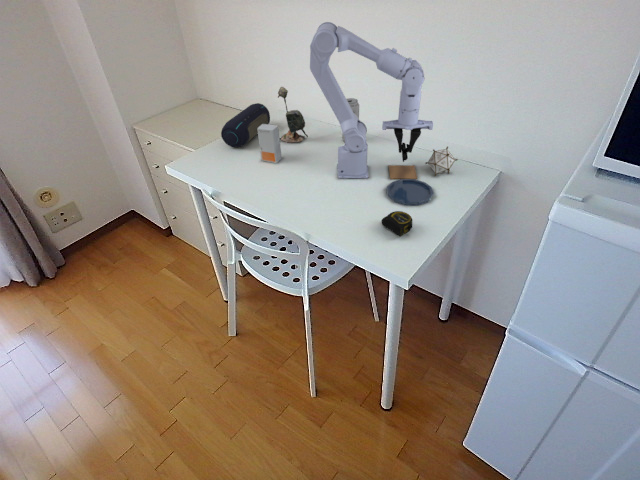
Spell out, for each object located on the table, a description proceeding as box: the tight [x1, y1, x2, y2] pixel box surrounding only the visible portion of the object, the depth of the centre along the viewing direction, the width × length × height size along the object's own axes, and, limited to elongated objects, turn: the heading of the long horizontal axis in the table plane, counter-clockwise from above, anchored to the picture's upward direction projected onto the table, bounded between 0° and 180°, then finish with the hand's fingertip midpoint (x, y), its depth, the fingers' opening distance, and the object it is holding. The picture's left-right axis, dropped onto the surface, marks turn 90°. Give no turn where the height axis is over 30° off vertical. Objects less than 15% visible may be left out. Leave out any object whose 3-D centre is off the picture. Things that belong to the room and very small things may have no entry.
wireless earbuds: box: [401, 142, 410, 163], centre depth 122 cm, size 7×2×5 cm, turn 174°
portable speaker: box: [220, 102, 271, 148], centre depth 152 cm, size 25×10×10 cm, turn 159°
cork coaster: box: [388, 164, 418, 180], centre depth 128 cm, size 8×8×1 cm
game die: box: [424, 146, 459, 177], centre depth 125 cm, size 9×8×10 cm
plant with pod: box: [277, 86, 309, 143], centre depth 145 cm, size 8×11×20 cm
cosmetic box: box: [257, 123, 282, 164], centre depth 135 cm, size 6×4×12 cm
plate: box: [386, 179, 434, 207], centre depth 118 cm, size 13×13×1 cm
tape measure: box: [381, 210, 413, 238], centre depth 104 cm, size 7×7×4 cm
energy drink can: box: [341, 97, 360, 143], centre depth 144 cm, size 6×6×15 cm
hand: (404, 151), depth 123 cm, fingers closed on wireless earbuds, 2 cm apart
